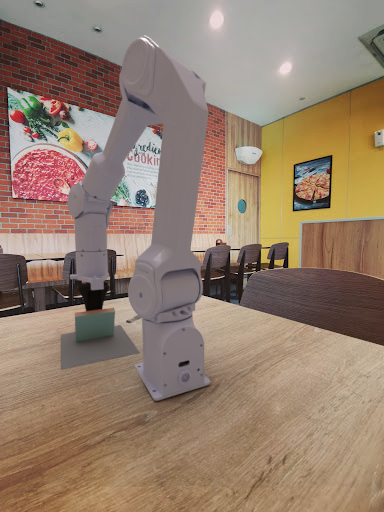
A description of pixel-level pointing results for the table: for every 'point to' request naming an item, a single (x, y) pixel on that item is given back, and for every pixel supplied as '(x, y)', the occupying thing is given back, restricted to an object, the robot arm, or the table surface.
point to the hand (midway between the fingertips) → (94, 320)
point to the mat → (95, 348)
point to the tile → (94, 324)
